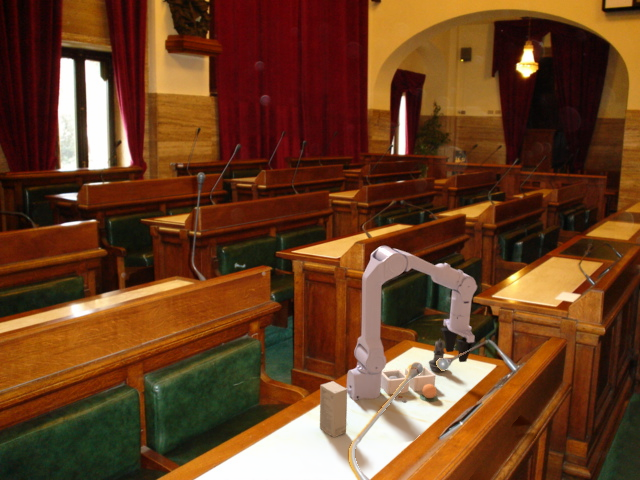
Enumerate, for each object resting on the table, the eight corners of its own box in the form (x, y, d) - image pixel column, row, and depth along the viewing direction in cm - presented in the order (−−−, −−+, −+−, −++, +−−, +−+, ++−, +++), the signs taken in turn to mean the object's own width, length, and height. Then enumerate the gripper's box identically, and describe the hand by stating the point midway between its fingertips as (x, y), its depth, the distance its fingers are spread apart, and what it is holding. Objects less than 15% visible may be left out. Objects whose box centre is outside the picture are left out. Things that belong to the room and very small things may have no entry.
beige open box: (414, 392, 183) (415, 377, 182) (404, 382, 189) (405, 368, 188) (434, 389, 185) (435, 375, 184) (424, 380, 191) (425, 366, 190)
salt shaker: (445, 370, 201) (448, 335, 199) (447, 378, 196) (450, 342, 193) (427, 369, 202) (430, 334, 199) (428, 377, 196) (431, 341, 194)
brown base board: (395, 411, 173) (396, 406, 173) (376, 389, 186) (376, 385, 186) (446, 404, 178) (447, 400, 178) (424, 384, 191) (425, 379, 191)
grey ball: (389, 392, 182) (390, 380, 181) (384, 386, 185) (385, 374, 184) (402, 391, 183) (403, 378, 182) (396, 385, 187) (397, 372, 186)
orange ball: (425, 401, 176) (427, 388, 176) (419, 395, 180) (420, 382, 179) (438, 400, 178) (439, 387, 177) (431, 393, 181) (432, 381, 181)
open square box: (387, 395, 180) (388, 380, 179) (378, 385, 186) (379, 371, 185) (408, 392, 182) (409, 378, 181) (398, 383, 188) (399, 369, 187)
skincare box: (346, 433, 161) (348, 389, 158) (332, 438, 158) (335, 393, 156) (331, 422, 166) (333, 380, 163) (318, 427, 163) (319, 384, 160)
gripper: (485, 320, 179) (480, 364, 182) (459, 304, 192) (455, 346, 195) (463, 322, 177) (459, 367, 180) (438, 306, 190) (435, 348, 193)
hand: (456, 356), depth 187 cm, fingers open, 7 cm apart
